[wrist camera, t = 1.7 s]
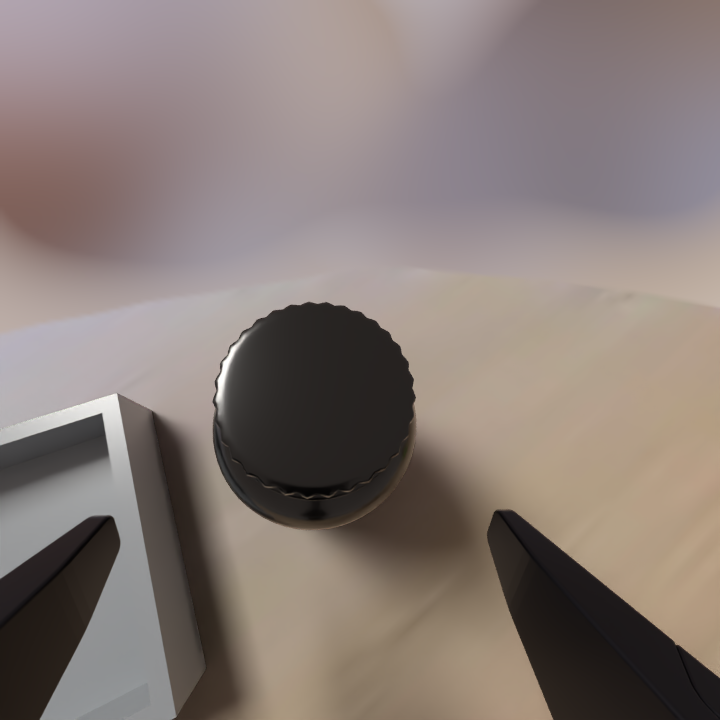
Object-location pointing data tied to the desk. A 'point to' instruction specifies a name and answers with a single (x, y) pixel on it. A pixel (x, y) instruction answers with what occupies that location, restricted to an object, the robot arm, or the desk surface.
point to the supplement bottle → (314, 416)
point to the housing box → (132, 565)
